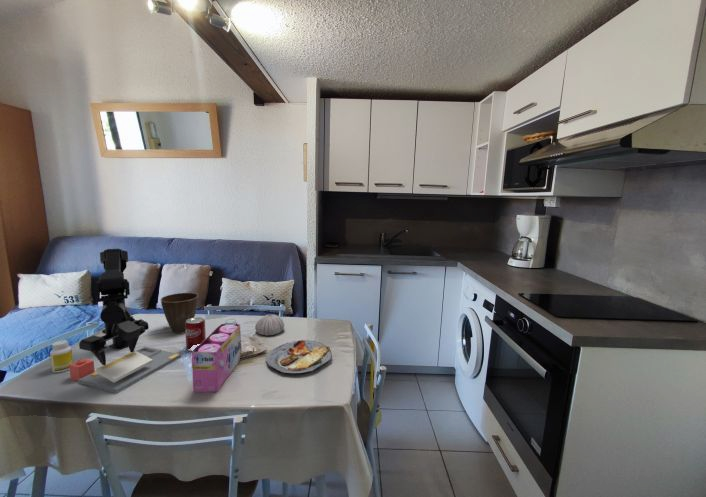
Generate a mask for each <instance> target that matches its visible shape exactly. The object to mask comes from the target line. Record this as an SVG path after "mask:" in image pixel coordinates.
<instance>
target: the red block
mask: <svg viewBox="0 0 706 497" xmlns="http://www.w3.org/2000/svg"><path fill="white" fill-rule="evenodd" d="M68 371H69V379H71V380H74V381H78V382H79V380H78V379H80V378H83V377H85V376H87V375H89V374H91V373H93V372H95V371H96V369H95V362H94V360H92V359H88V358H83V359H79V360H77V361H75V362H73V363H72V364H70V365H69V370H68Z"/></svg>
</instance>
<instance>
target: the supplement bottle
mask: <svg viewBox="0 0 706 497" xmlns="http://www.w3.org/2000/svg"><path fill="white" fill-rule="evenodd" d="M51 346H52V349H51V351H50V352H49V355H50V356H49V357H50V364H51V372H53V373H55V374H56V373H63V372H66V371H69V365H70V364H72V363H74V362H73V351H72V347H71V346H70V345H69V340H68V339H67V340H66V339H65V340H58V341H55V342H53V343H52V344H51Z"/></svg>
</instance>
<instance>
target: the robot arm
mask: <svg viewBox="0 0 706 497" xmlns="http://www.w3.org/2000/svg"><path fill="white" fill-rule="evenodd" d="M99 259H100V260H99V262H100V264H101V265H102V264H103V269H104V272H102V273H101V274H100V275H99V280H98V281H96V302H97V303H101V302H102V307H101V311H100V315H99V317H100V320H101V322H103V323H104V329H102V331H101V332H102V334H105V335H102V336H98V335H91V336H89V337H86V338H83V339H81V340H80V341H79V342H78V346H79V348H78V349H80V350H83V351H89V352H91V353H92V354H93V355H94V356H95V357H96V358H97V360H98V362H99V363H100V364H101V365H102V366H104V365H106V364H107V356H106V349H107V348H108V347H109V348H112V349H116V350H122V349H124V348H126V347H128V349H129V353H132V352H134V351H135V348H136V346H137V343H138V340H139V338H140V337H141V335H143V334H144V333H145V332H146V331H147V330H149V323H148V322H147V321H145V320H143V319H142V318H141V319H135V318H134V317H133V315H131V310H129V308H128V307H127V306H126V299H128V298H129V297H128V296H130V294H131V293H130V291H131V290H130V282H129V280H128V279H127V278H125V275H124V274H125V273H124V272H125V271H126V268H127V263H129V252H128V250H123V249H122V248H106V249H104V250H102V251H101V252H99ZM109 340H112V344H110V345H108V346H106V345H107V341H109Z"/></svg>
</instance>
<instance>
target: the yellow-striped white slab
mask: <svg viewBox="0 0 706 497" xmlns="http://www.w3.org/2000/svg"><path fill="white" fill-rule="evenodd" d="M134 351H135V352H129V353H128V355H127V354H126V356H125V355H124V356H122V357H119V358H117V359H114V360H113V361H111V362H108V363H106V365H102V366H100V367H98V368H96V369H95V371H96V373H98V374H99V375H101V376H103V377H105V378H107V379H108V380H110V381H112V382H116V381H118V380H120V379H122V378H124V377H126V376H128V375H130V374H132V373H133V372H135V371H137V370H139V369H141V368H143V367H145V366H147V365H149V364H151V363H152V361H153V359H151V358H149V357H147V356H145V355H143V354H141V353H139V352H137V351H136V350H134Z"/></svg>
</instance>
